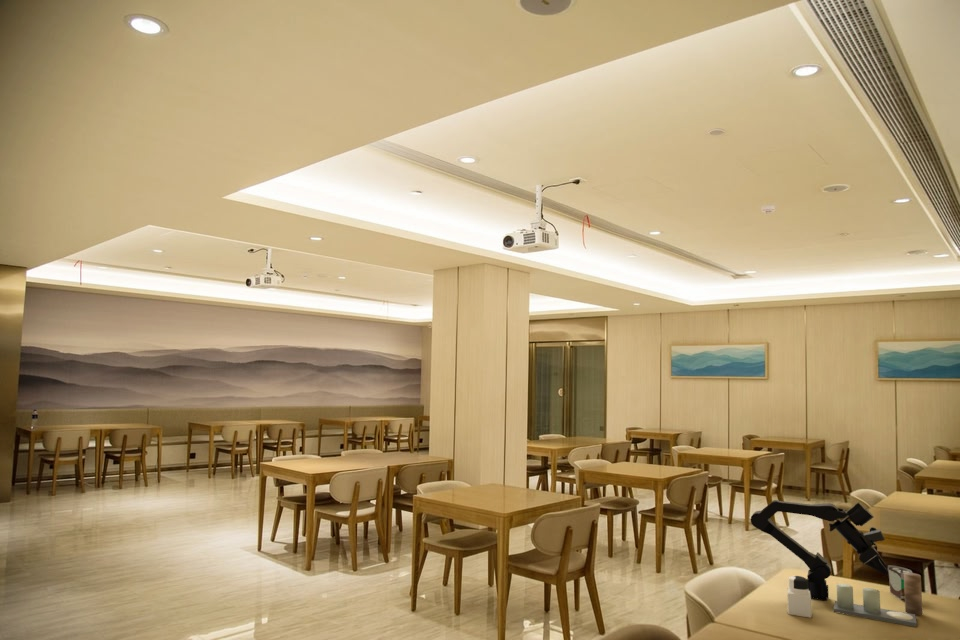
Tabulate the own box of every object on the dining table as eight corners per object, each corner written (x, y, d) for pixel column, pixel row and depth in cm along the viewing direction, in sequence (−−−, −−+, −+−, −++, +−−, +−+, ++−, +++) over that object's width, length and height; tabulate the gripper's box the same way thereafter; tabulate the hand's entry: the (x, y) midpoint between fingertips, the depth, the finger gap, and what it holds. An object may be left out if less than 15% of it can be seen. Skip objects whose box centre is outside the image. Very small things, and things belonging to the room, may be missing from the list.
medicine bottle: (810, 611, 221) (809, 576, 222) (811, 618, 215) (810, 581, 216) (787, 608, 224) (786, 573, 225) (788, 614, 218) (787, 578, 219)
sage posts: (837, 607, 223) (836, 586, 224) (837, 603, 227) (836, 582, 228) (880, 614, 216) (879, 593, 217) (880, 610, 220) (879, 589, 221)
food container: (921, 603, 233) (920, 575, 234) (902, 601, 234) (901, 573, 235) (906, 592, 245) (905, 566, 246) (888, 591, 246) (887, 564, 247)
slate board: (833, 612, 221) (833, 607, 221) (834, 604, 230) (834, 600, 230) (916, 626, 209) (916, 622, 209) (915, 617, 217) (914, 613, 217)
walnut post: (905, 613, 221) (903, 575, 223) (905, 609, 226) (903, 571, 227) (923, 616, 219) (921, 577, 220) (922, 612, 223) (920, 574, 224)
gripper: (870, 525, 223) (908, 563, 217) (868, 516, 239) (903, 551, 233) (844, 544, 226) (880, 582, 220) (844, 534, 243) (878, 569, 236)
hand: (886, 570), depth 227 cm, fingers open, 9 cm apart
